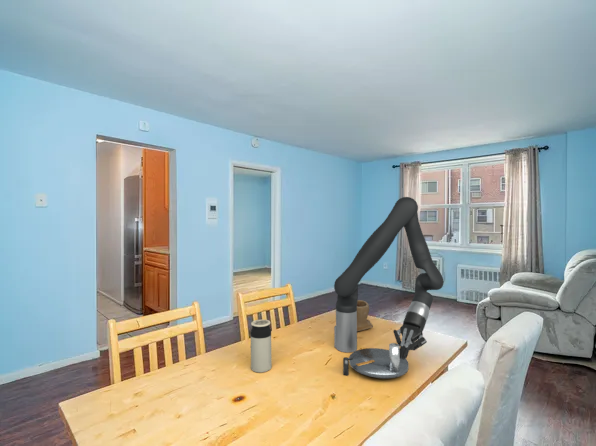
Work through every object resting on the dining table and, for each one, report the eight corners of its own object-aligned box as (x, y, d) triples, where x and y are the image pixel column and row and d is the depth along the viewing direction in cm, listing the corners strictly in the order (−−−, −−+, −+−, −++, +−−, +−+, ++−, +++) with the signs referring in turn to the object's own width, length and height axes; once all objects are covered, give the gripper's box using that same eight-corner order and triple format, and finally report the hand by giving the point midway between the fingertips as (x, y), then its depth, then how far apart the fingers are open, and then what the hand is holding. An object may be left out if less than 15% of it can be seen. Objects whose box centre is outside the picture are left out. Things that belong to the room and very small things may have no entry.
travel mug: (275, 367, 125) (275, 322, 124) (260, 375, 119) (259, 327, 118) (262, 361, 130) (262, 317, 130) (246, 368, 124) (246, 322, 124)
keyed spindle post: (342, 374, 119) (342, 358, 119) (373, 359, 131) (373, 344, 131) (370, 387, 109) (370, 370, 109) (400, 370, 122) (400, 354, 122)
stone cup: (355, 335, 158) (355, 305, 157) (341, 328, 168) (341, 300, 168) (379, 330, 164) (379, 301, 164) (365, 323, 175) (364, 296, 175)
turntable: (343, 352, 132) (343, 327, 132) (394, 350, 134) (394, 325, 134) (358, 379, 111) (357, 349, 110) (419, 376, 112) (419, 347, 112)
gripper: (397, 307, 126) (381, 348, 118) (430, 314, 116) (415, 358, 108) (404, 317, 129) (389, 357, 121) (437, 325, 120) (422, 368, 112)
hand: (401, 358), depth 115 cm, fingers closed
